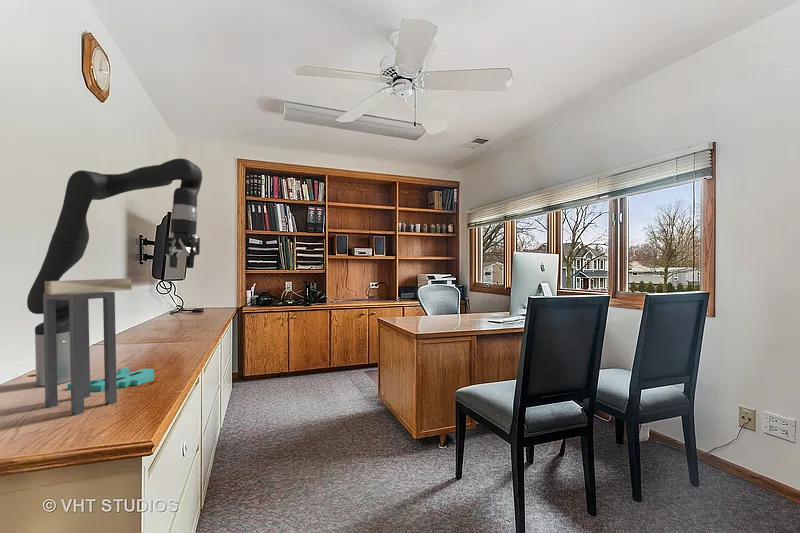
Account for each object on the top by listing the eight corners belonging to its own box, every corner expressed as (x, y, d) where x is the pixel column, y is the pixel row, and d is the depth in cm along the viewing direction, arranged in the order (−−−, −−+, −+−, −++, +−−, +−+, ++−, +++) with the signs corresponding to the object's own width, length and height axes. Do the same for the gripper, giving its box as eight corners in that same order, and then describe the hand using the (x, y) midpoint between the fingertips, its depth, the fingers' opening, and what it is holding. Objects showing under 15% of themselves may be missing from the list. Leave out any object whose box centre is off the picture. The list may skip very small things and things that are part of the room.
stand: (45, 406, 108) (43, 293, 108) (86, 395, 117) (84, 291, 117) (75, 415, 101) (72, 294, 101) (116, 402, 110) (114, 291, 110)
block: (44, 294, 103) (44, 281, 103) (124, 289, 121) (124, 278, 121) (51, 294, 102) (51, 281, 102) (131, 289, 120) (131, 278, 120)
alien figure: (67, 390, 123) (118, 393, 119) (67, 383, 123) (118, 386, 119) (123, 373, 143) (169, 375, 139) (123, 367, 143) (169, 369, 139)
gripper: (159, 218, 128) (156, 267, 127) (187, 216, 121) (184, 267, 121) (181, 222, 134) (178, 268, 134) (208, 220, 128) (205, 268, 127)
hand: (181, 267), depth 127 cm, fingers open, 8 cm apart
